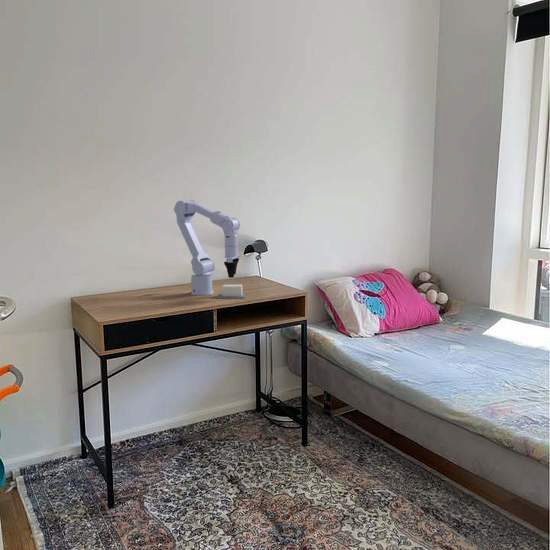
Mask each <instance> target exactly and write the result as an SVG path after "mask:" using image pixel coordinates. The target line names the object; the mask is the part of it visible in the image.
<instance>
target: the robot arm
mask: <svg viewBox="0 0 550 550" xmlns="http://www.w3.org/2000/svg"><path fill="white" fill-rule="evenodd" d="M173 212H174V214H175V215H176V224H177V226H178V229H179V230H180V232H181V235H182V236H183V239H184V241H185V243H186V245H187V247H188V250H189V251H190V255H191V257H192V259H191V260H190V264H191V269H192V271H193V273H194V274H191V278H190V287H191V288H190V289H191V296H212V295H214V292H215V290H213V277H212V275H213V272H214V270H215V262H214V261H213V260H212V259H211V257H210V255H209V254H207V253H205V251H204V250H203V247H202V246H201V244H200V241H199V239H198V236H197V235H196V231H195V230H194V228H193V225H192V223H191V221H192V218H193V217H194V216H195V214H196V213H197V214H199V215H201V216H203V217H206V218H208V219H209V221H210V222H211V223H212V224H213V225H215V226H218V227H219V228H221V229H222V231H223V235H224V252H225V253H224V258H225V259H226V261H224V262H223V264H224V266H225V268H226V272H227V276H228V278H230V279H232V278H234V277H235V275H236V273H237V267H238V263H239V260H240V258H242V256H241V254H240V255H239V242H238V241H239V240H238V239H239V238H238V236H239V235H238V230H239V229H240V227H241V224H240V221H239V220H238V219H237V218H236V217H232V218H231V217H230V215H227V214H224V213H222V211H221V210H215V211H212V210H211V209H209V208H208V207H206V206H205V205H203V204H201V203H199V201H195V200H194V199H189V200H178V201H176V203H175V205H174V208H173Z"/></svg>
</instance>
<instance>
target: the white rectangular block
mask: <svg viewBox="0 0 550 550" xmlns="http://www.w3.org/2000/svg"><path fill="white" fill-rule="evenodd" d="M221 288H222V293H223V296H242V293H243V284H222V287H221Z"/></svg>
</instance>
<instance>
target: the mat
mask: <svg viewBox="0 0 550 550" xmlns="http://www.w3.org/2000/svg"><path fill="white" fill-rule="evenodd" d="M246 294H247V293H246V292H242V296H223V292H222V293H219V294H218V295H217V297H216V298H217V299H245V297H246Z"/></svg>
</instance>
